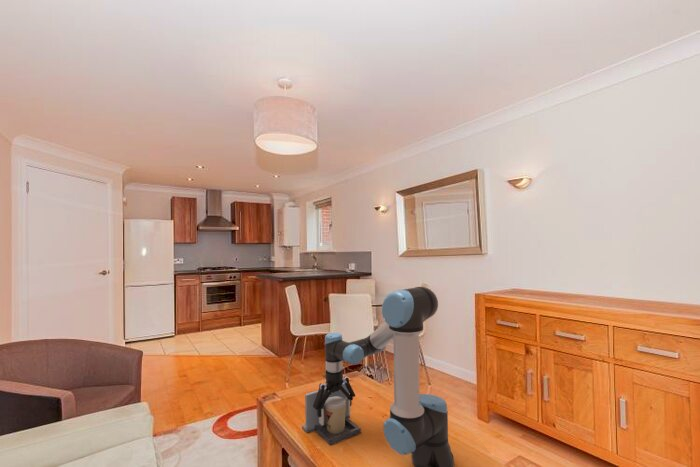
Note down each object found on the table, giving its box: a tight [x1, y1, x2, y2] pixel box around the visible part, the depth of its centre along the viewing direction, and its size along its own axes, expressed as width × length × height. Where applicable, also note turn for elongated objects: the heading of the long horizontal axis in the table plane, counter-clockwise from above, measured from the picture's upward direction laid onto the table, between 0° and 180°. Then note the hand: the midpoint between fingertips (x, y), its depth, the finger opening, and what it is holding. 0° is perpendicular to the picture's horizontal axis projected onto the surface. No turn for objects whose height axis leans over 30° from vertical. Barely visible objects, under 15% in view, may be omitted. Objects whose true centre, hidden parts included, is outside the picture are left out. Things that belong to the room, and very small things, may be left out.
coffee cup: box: [325, 396, 346, 434], centre depth 146 cm, size 9×9×12 cm
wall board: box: [301, 383, 351, 434], centre depth 152 cm, size 5×22×16 cm, turn 124°
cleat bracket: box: [315, 417, 362, 446], centre depth 144 cm, size 14×15×2 cm
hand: (335, 418), depth 146 cm, fingers open, 13 cm apart
